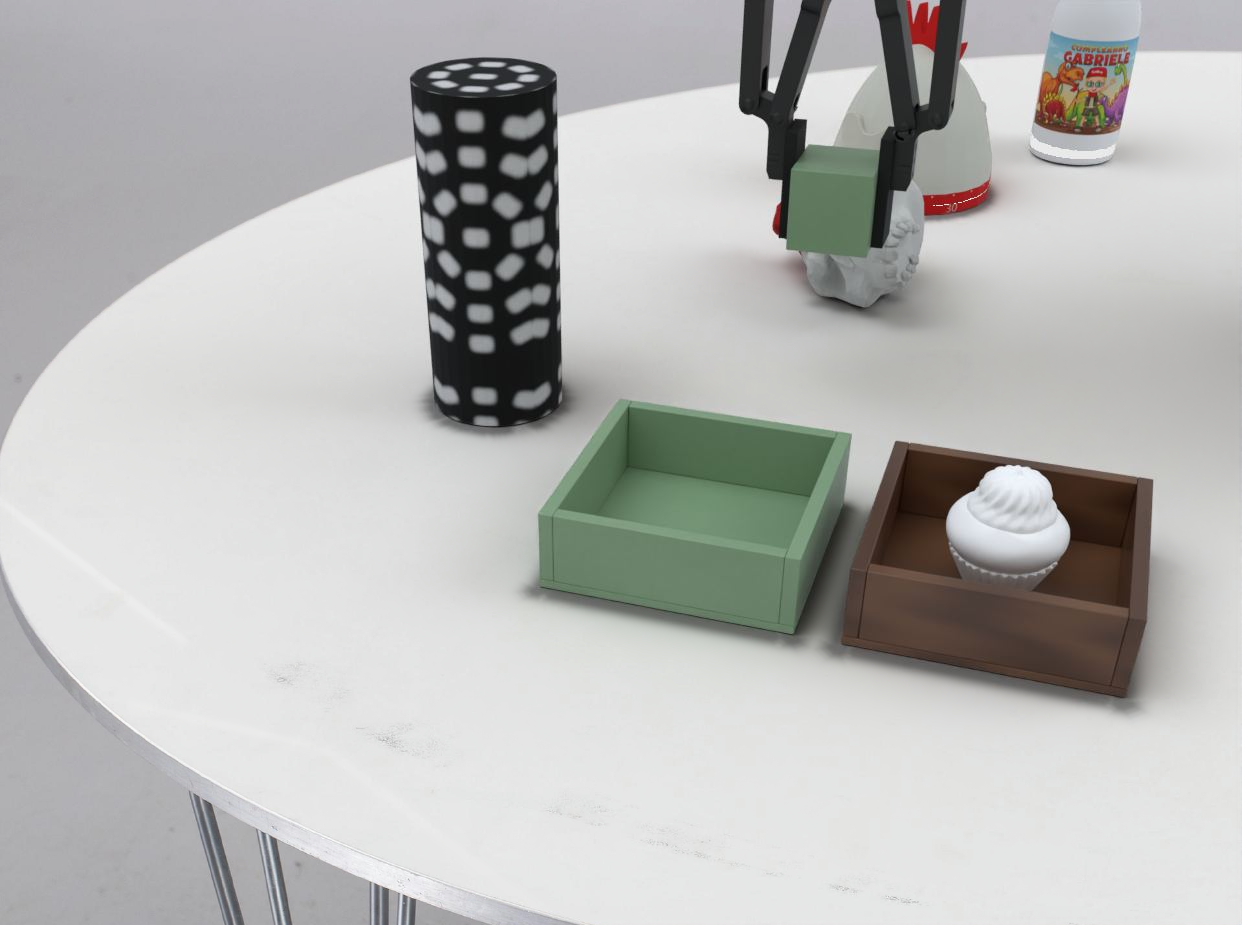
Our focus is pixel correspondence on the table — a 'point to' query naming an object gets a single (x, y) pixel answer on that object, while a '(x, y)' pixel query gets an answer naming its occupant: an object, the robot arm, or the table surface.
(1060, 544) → the muffin
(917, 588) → the brown bin
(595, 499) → the green bin
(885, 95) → the kitchen timer
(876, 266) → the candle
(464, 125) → the spotted tube
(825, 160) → the green block
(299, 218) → the table surface
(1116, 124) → the milk bottle
